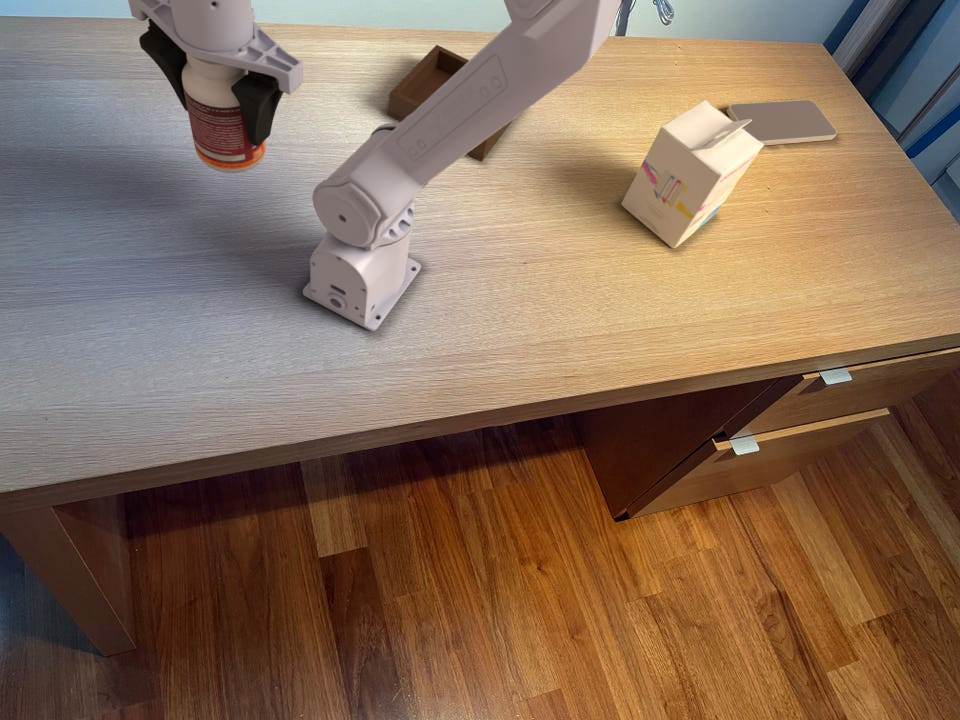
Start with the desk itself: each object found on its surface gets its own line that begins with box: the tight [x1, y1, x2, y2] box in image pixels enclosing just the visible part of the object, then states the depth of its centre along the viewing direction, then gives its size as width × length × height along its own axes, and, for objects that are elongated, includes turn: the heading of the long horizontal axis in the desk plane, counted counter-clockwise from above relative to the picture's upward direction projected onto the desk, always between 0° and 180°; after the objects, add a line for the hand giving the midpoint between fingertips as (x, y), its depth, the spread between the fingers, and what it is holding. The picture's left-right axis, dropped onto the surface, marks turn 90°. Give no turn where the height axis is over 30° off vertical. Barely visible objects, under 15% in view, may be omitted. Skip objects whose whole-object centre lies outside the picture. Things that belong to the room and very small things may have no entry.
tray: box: [387, 44, 515, 162], centre depth 81 cm, size 12×13×3 cm
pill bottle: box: [182, 53, 267, 174], centre depth 58 cm, size 6×6×11 cm
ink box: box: [620, 99, 765, 249], centre depth 75 cm, size 9×8×13 cm
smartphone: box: [726, 99, 838, 146], centre depth 93 cm, size 7×1×15 cm
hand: (228, 122), depth 60 cm, fingers closed on pill bottle, 6 cm apart
